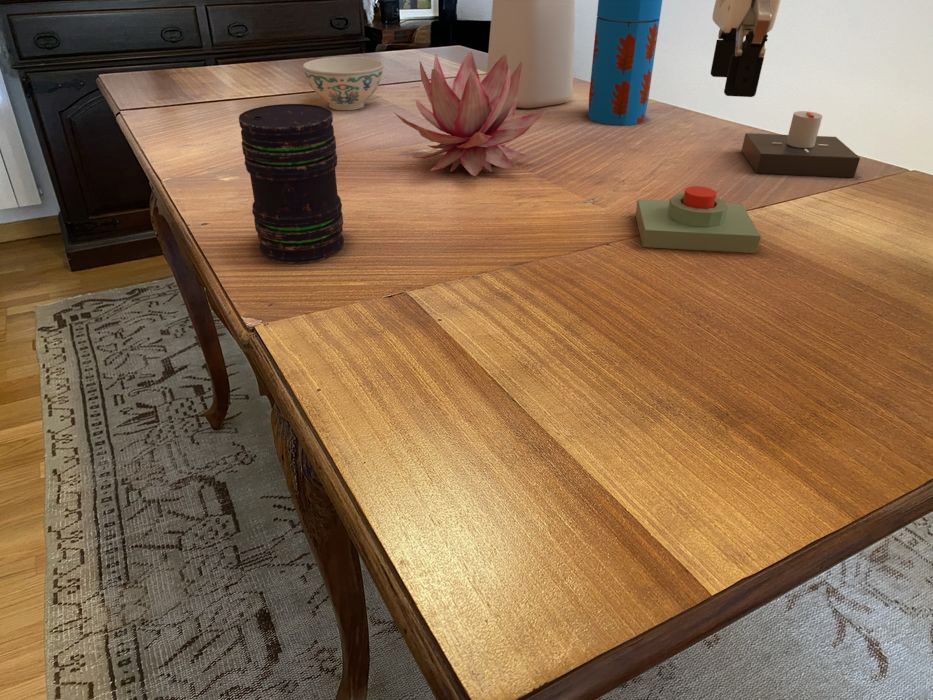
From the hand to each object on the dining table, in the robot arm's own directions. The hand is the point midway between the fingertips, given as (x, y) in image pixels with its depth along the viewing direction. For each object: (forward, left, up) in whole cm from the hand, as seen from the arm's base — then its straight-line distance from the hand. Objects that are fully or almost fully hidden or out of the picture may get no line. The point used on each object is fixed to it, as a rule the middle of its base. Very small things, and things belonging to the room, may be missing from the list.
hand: (731, 85), depth 80 cm
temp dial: (-18, -27, -14) cm, 35 cm away
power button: (+2, +3, -13) cm, 14 cm away
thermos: (+8, -51, -17) cm, 54 cm away
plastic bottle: (+25, -63, -17) cm, 70 cm away
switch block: (+2, +3, -17) cm, 17 cm away
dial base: (-18, -27, -17) cm, 37 cm away
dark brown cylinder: (+48, +13, -17) cm, 52 cm away
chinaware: (+60, -52, -17) cm, 81 cm away
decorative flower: (+32, -19, -17) cm, 41 cm away
